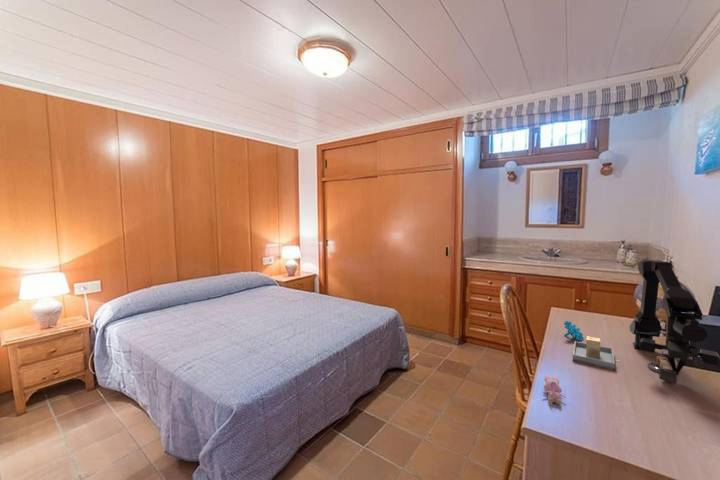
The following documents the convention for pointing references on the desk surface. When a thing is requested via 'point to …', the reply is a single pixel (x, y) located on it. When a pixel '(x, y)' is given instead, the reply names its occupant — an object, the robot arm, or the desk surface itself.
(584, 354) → the stop tray
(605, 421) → the desk surface
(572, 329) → the blue branched piece
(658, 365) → the crank lever
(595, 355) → the stop block
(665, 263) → the robot arm
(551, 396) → the rabbit figure
